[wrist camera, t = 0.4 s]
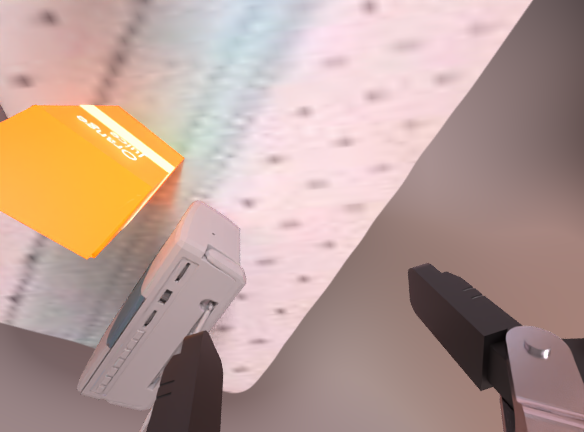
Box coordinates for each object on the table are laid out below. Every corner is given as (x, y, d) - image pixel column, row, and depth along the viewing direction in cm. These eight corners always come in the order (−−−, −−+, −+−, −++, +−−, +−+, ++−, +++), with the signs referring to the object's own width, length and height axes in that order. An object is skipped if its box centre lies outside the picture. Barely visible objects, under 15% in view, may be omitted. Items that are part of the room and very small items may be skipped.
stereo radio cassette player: (195, 193, 37) (151, 279, 18) (248, 225, 40) (257, 327, 21) (117, 309, 41) (17, 476, 22) (171, 331, 44) (121, 495, 25)
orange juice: (147, 203, 36) (53, 303, 18) (79, 156, 33) (-122, 219, 15) (186, 157, 35) (128, 213, 17) (119, 103, 32) (-45, 100, 13)
